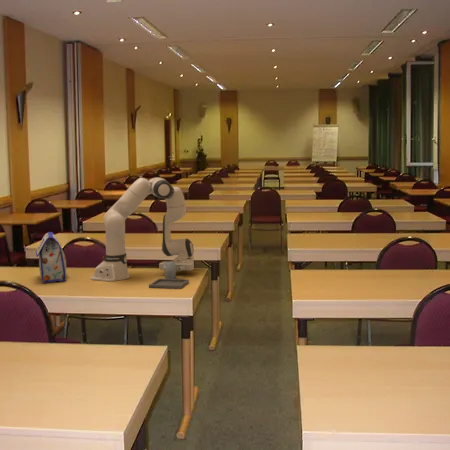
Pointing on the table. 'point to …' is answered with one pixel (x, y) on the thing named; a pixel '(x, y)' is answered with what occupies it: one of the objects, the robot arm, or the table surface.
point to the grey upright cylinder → (170, 270)
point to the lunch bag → (51, 259)
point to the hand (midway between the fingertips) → (172, 268)
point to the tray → (169, 283)
